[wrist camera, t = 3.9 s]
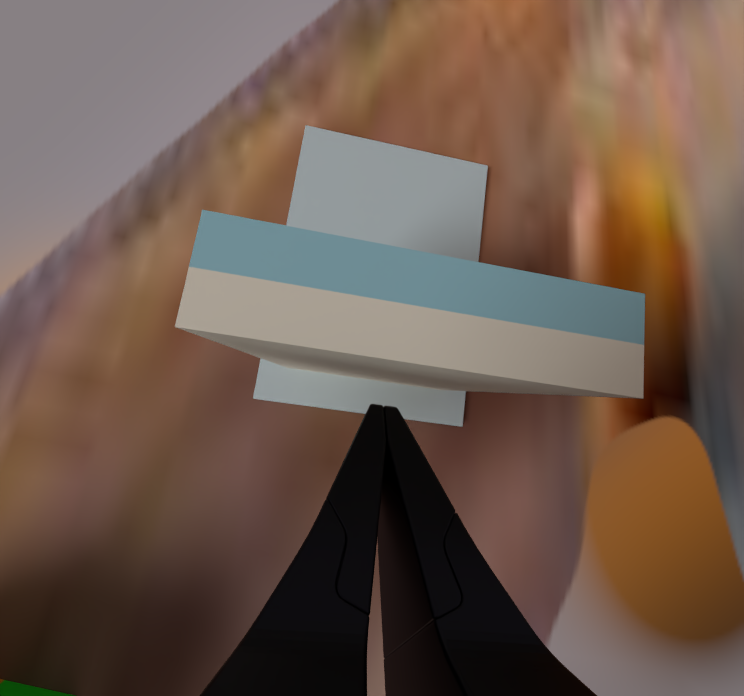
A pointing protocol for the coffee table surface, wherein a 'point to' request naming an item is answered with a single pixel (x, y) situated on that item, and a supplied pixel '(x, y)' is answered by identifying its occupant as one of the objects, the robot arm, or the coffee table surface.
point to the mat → (385, 226)
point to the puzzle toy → (25, 690)
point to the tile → (407, 314)
